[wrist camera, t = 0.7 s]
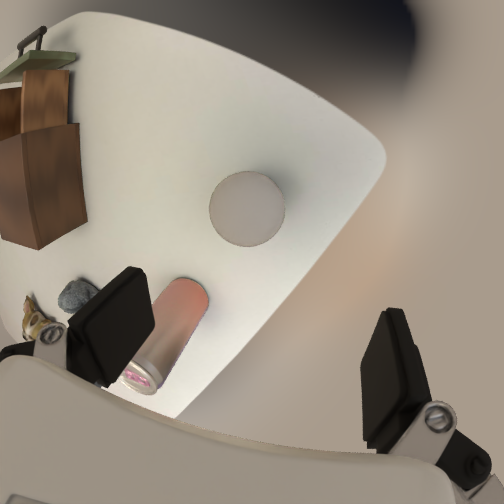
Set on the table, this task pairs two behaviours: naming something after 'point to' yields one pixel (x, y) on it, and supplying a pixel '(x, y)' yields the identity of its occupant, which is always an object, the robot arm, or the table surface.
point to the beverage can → (166, 335)
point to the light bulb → (247, 209)
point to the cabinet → (41, 186)
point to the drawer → (34, 89)
